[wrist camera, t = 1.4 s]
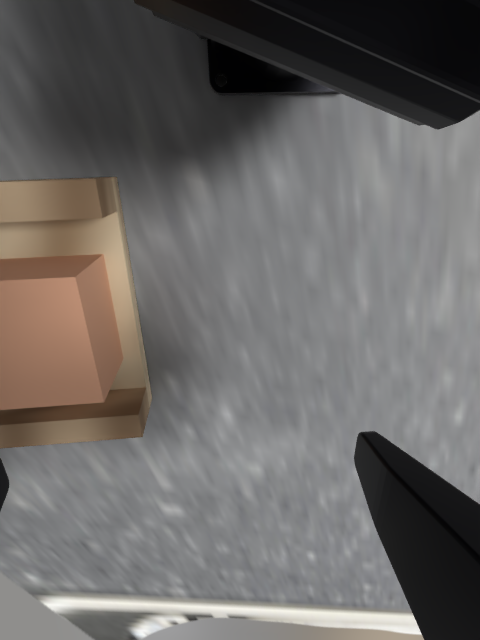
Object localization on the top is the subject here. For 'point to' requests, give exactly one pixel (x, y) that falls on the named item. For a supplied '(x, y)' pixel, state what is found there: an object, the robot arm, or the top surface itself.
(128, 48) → the top surface
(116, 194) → the frame
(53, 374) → the terracotta block
